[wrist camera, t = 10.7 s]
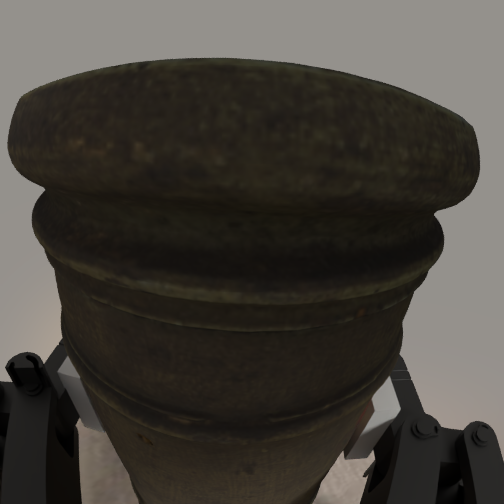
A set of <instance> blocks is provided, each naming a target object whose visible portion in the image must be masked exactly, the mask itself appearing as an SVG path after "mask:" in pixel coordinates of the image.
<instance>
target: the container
mask: <svg viewBox="0 0 504 504" xmlns="http://www.w3.org/2000/svg"><path fill="white" fill-rule="evenodd" d="M7 143H8V152H9V156H10V158H11V161H12V164H13V165H14V167H15V168H16V170H17V171H18V172H19V173H20V174H21V175H23V176H24V177H25V178H27V179H28V180H30V181H31V182H33V183H36V184H38V185H40V186H42V187H44V188H45V191H44V192H43V193H42V194H41V196H40V197H39V198H38V200H37V201H36V203H35V206H34V208H33V212H32V227H33V230H34V234H35V236H36V238H37V239H38V241H39V243H40V244H41V245H42V246H43V248H44V249H45V253H46V256H47V258H48V260H49V262H50V264H51V265H52V266H53V268H54V270H55V276H56V282H57V288H58V293H59V297H60V301H61V305H62V311H61V331H62V337H63V342H64V346H65V349H66V352H67V354H68V357H69V359H70V361H71V363H72V364H73V366H74V368H75V370H76V371H77V373H78V374H79V376H80V377H81V378H82V380H83V381H84V383H85V386H86V388H87V390H88V393H89V395H90V397H91V399H92V402H93V404H94V407H95V409H96V411H97V414H98V416H99V418H100V420H101V422H102V424H103V427H104V429H105V431H106V433H107V435H108V437H109V439H110V441H111V443H112V445H113V446H114V448H115V450H116V452H117V454H118V456H119V458H120V459H121V461H122V463H123V465H124V467H125V468H126V470H127V472H128V473H129V475H130V480H131V483H132V486H133V489H134V492H135V494H136V496H137V498H138V501H139V504H312V503H313V501H314V499H315V498H316V495H317V493H318V490H319V487H320V484H321V482H322V480H323V479H324V478H325V476H326V475H327V473H328V472H329V470H330V468H331V467H332V466H333V464H334V463H335V461H336V460H337V458H338V456H339V455H340V454H341V452H342V451H343V449H344V448H345V446H346V445H347V443H348V442H349V440H350V438H351V437H352V435H353V433H354V432H355V430H356V428H357V426H358V425H359V423H360V421H361V419H362V418H363V416H364V414H365V412H366V410H367V408H368V405H369V403H370V401H371V399H372V397H373V395H374V394H375V393H376V392H377V390H378V389H379V388H380V387H381V386H382V385H383V384H384V383H385V381H386V380H387V379H388V377H389V376H390V374H391V372H392V370H393V368H394V367H395V365H396V362H397V360H398V357H399V353H400V349H401V346H402V339H403V327H402V322H403V319H404V317H405V314H406V312H407V310H408V307H409V305H410V302H411V299H412V297H413V294H414V291H415V290H416V289H417V288H418V287H419V286H420V285H421V284H422V283H423V281H424V280H425V278H426V276H427V273H428V271H429V269H430V268H431V267H432V266H433V265H434V264H435V263H436V261H437V260H438V259H439V257H440V255H441V253H442V251H443V247H444V234H443V230H442V227H441V225H440V223H439V221H438V220H437V218H436V217H435V216H434V213H435V212H436V211H438V210H442V209H446V208H449V207H452V206H454V205H457V204H458V203H459V202H461V201H463V200H464V199H465V198H466V197H467V196H469V195H470V193H471V192H472V190H473V189H474V187H475V185H476V183H477V180H478V177H479V172H480V155H479V148H478V143H477V138H476V134H475V131H474V128H473V126H471V125H470V124H469V123H468V122H467V121H466V120H465V119H464V118H462V117H461V116H459V115H458V114H456V113H454V112H452V111H450V110H448V109H447V108H444V107H442V106H440V105H438V104H436V103H434V102H432V101H430V100H428V99H425V98H423V97H421V96H418V95H416V94H413V93H411V92H408V91H406V90H404V89H401V88H398V87H395V86H392V85H389V84H386V83H383V82H379V81H375V80H371V79H367V78H363V77H359V76H356V75H352V74H348V73H345V72H340V71H335V70H330V69H325V68H319V67H312V66H307V65H301V64H295V63H287V62H276V61H264V60H251V59H237V58H186V59H167V60H156V61H145V62H136V63H128V64H123V65H118V66H111V67H106V68H101V69H96V70H92V71H88V72H84V73H80V74H76V75H73V76H69V77H66V78H63V79H59V80H56V81H53V82H50V83H48V84H46V85H43V86H40V87H38V88H36V89H34V90H32V91H30V92H28V93H26V94H24V95H23V96H22V97H21V98H20V99H19V101H18V103H17V106H16V108H15V111H14V114H13V117H12V120H11V125H10V129H9V135H8V142H7Z"/></svg>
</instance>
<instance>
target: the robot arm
mask: <svg viewBox="0 0 504 504" xmlns="http://www.w3.org/2000/svg"><path fill="white" fill-rule="evenodd" d="M5 368H6V370H7V372H8V374H9V376H10V377H11V379H12V381H13V382H1V381H0V504H82V499H81V487H80V471H79V434H78V429H77V427H76V426H75V425H76V423H77V421H78V419H79V417H80V419H81V421H82V423H83V424H84V426H85V427H88V428H91V429H94V430H97V431H101V432H104V433H105V429H104V427H103V424H102V422H101V420H100V418H99V416H98V414H97V411H96V409H95V407H94V404H93V402H92V399H91V397H90V395H89V393H88V390H87V388H86V386H85V383H84V381H83V380H82V378H81V377H80V376H79V374H78V373H77V371H76V370H75V368H74V366H73V364H72V363H71V361H70V359H69V357H68V354H67V352H66V349H65V346H64V342H63V338H62V340H61V341H60V342H59V345H57V347H56V348H55V349H54V351H53V352H52V354H51V355H50V356H49V358H48V359H47V361H46V362H45V364H43V361H42V360H41V358H40V357H39V356H38V355H37V354H35V353H31V352H25V353H20V354H18V355H16V356H14V357H12V358H11V359H10V360H9V361H8V363H7V365H6V367H5ZM372 450H374V455H375V460H374V462H373V463H372V464H371V465H370V467H369V468H368V469H367V470H366V471H365V473H364V475H363V477H366V476H367V475H368V474H369V475H368V478H367V482H366V485H365V489H364V492H363V495H362V498H361V501H360V504H504V462H503V458H502V454H501V451H500V447H499V444H498V440H497V437H496V435H495V432H494V430H493V429H492V428H491V427H490V426H489V425H488V424H486V423H484V422H480V421H475V422H471V423H470V424H469V425H468V426H466V428H465V429H464V430H456V429H448V428H443V427H441V426H440V424H439V423H438V421H437V420H436V419H435V418H433V417H432V416H431V415H428V414H425V412H424V410H423V407H422V405H421V402H420V399H419V397H418V395H417V392H416V389H415V387H414V384H413V382H412V380H411V377H410V374H409V372H408V371H407V367H406V364H405V362H404V360H403V358H402V357H401V356H400V355H399V357H398V360H397V362H396V365H395V367H394V368H393V370H392V372H391V374H390V376H389V377H388V379H387V380H386V381H385V383H384V384H383V385H382V386H381V387H380V388H379V389H378V390H377V392H376V393H375V394H374V395H373V397H372V399H371V401H370V403H369V405H368V408H367V410H366V412H365V414H364V416H363V418H362V419H361V421H360V423H359V425H358V426H357V428H356V430H355V432H354V433H353V435H352V437H351V438H350V440H349V442H348V443H347V445H346V446H345V448H344V449H343V451H344V458H345V460H347V459H360V458H367V457H368V456H369V455H370V453H371V452H372Z"/></svg>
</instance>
